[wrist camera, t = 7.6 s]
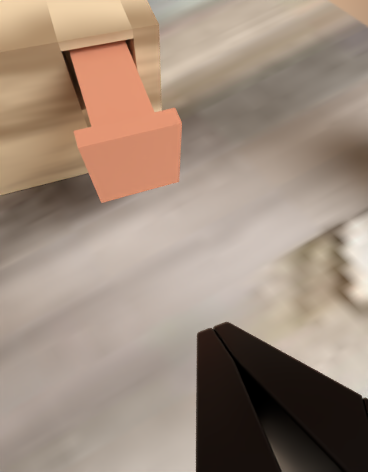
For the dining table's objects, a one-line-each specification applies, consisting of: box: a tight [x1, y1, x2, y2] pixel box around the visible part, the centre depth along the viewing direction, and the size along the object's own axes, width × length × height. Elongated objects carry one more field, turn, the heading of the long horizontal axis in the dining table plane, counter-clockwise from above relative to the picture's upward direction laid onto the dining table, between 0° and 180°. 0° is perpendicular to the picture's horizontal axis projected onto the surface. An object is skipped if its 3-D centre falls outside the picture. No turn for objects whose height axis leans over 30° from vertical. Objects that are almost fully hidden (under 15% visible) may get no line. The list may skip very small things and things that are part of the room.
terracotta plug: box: [69, 40, 182, 203], centre depth 18 cm, size 12×5×5 cm, turn 19°
